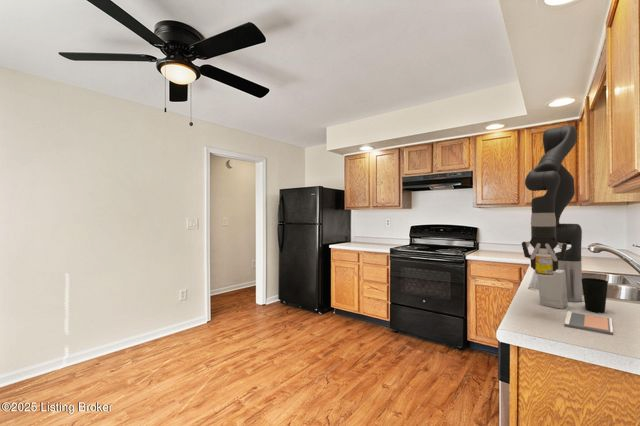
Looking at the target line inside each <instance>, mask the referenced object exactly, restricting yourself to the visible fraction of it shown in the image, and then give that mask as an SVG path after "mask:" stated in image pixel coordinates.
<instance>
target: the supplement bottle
mask: <svg viewBox="0 0 640 426" xmlns="http://www.w3.org/2000/svg"><path fill="white" fill-rule="evenodd" d="M553 261H554V260H553V258H552V256H551V255H550V253H549V251H548V249H543V248H539V250H538V253H537V254H536V255H535V273H534V274H535V275H536V276H537V277H538V276H545V277H551V276H553V275H554V271H553Z"/></svg>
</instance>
